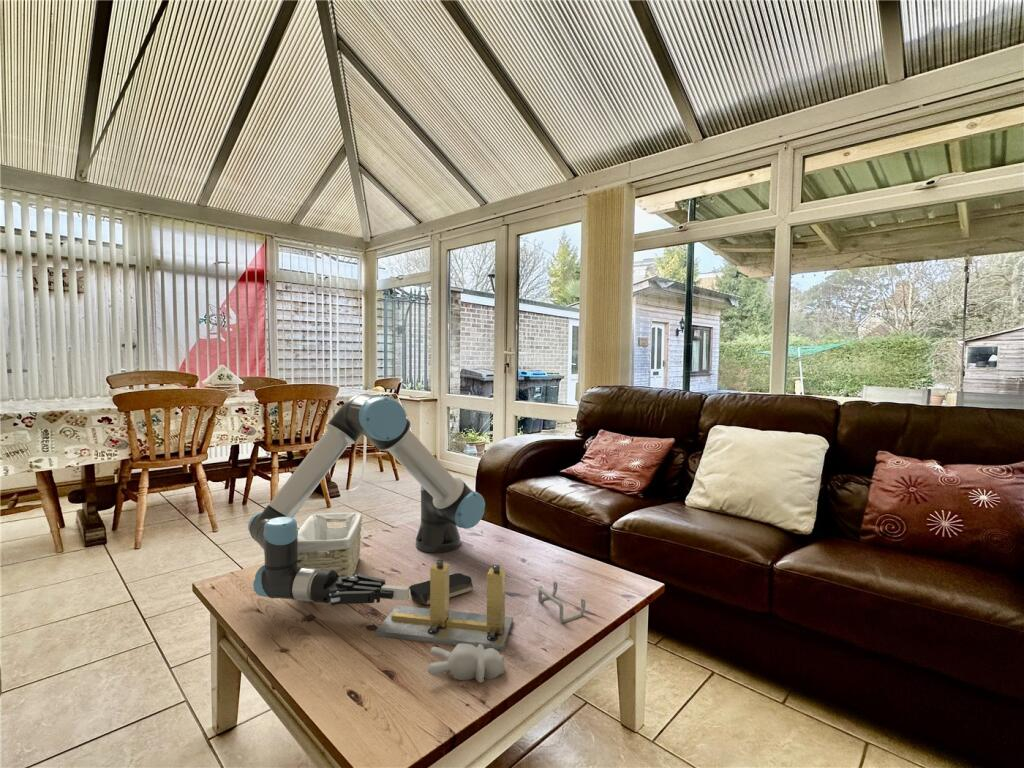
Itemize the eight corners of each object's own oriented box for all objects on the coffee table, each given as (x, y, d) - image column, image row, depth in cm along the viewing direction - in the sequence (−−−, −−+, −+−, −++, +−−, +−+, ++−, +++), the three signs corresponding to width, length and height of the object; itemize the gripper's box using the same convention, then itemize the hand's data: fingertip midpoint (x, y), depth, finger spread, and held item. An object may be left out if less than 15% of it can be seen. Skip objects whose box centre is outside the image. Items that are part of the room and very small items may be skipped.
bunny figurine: (506, 667, 96) (429, 662, 94) (503, 692, 96) (426, 687, 94) (502, 639, 105) (432, 634, 104) (499, 662, 105) (429, 657, 104)
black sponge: (421, 610, 125) (421, 596, 125) (407, 596, 132) (407, 583, 132) (475, 593, 135) (475, 580, 135) (460, 581, 142) (460, 569, 142)
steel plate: (396, 609, 125) (396, 604, 125) (512, 622, 119) (512, 617, 119) (375, 635, 113) (375, 630, 113) (503, 651, 108) (503, 645, 108)
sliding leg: (435, 616, 119) (435, 557, 118) (449, 618, 118) (449, 558, 117) (426, 630, 113) (426, 568, 112) (441, 632, 112) (441, 569, 111)
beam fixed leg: (395, 613, 120) (395, 554, 120) (504, 625, 116) (505, 563, 115) (385, 627, 114) (385, 564, 114) (499, 640, 110) (500, 574, 109)
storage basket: (350, 590, 135) (349, 538, 134) (288, 594, 132) (287, 540, 132) (363, 556, 158) (363, 511, 158) (311, 558, 156) (310, 512, 155)
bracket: (585, 618, 123) (586, 598, 123) (560, 625, 119) (561, 604, 118) (554, 596, 134) (555, 578, 133) (530, 602, 129) (531, 583, 129)
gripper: (331, 588, 128) (417, 596, 124) (302, 613, 115) (397, 623, 111) (331, 559, 127) (417, 567, 124) (301, 582, 114) (397, 591, 111)
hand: (407, 593), depth 117 cm, fingers closed
